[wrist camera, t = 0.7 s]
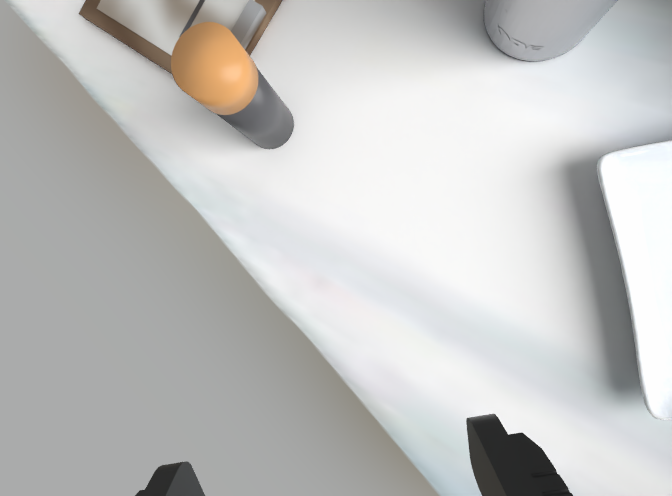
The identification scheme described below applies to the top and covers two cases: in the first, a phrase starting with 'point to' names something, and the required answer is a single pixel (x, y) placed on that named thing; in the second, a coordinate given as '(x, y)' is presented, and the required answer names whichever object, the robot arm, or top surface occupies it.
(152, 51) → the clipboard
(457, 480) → the top surface
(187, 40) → the orange-capped grey cylinder
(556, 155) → the top surface
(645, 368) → the salad plate
